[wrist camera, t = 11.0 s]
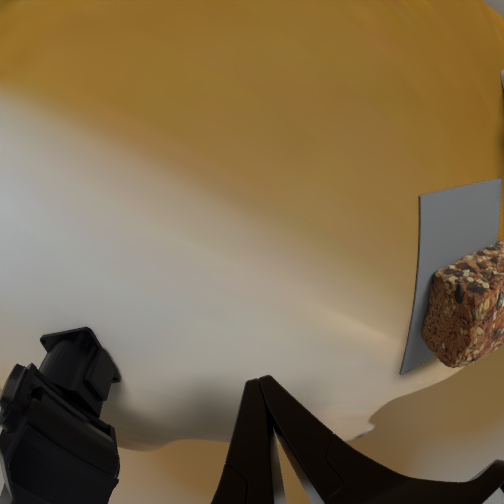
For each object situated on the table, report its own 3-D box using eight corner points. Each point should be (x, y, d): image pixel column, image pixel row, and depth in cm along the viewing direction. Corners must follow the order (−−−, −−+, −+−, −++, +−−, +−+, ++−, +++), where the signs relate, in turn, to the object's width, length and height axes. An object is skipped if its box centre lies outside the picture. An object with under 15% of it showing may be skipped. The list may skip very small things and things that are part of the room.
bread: (503, 233, 26) (552, 258, 17) (490, 296, 30) (530, 325, 21) (429, 264, 24) (498, 309, 14) (414, 341, 28) (462, 391, 18)
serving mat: (399, 373, 30) (400, 375, 30) (417, 195, 21) (420, 196, 21) (476, 323, 32) (477, 324, 31) (498, 177, 23) (500, 178, 22)
